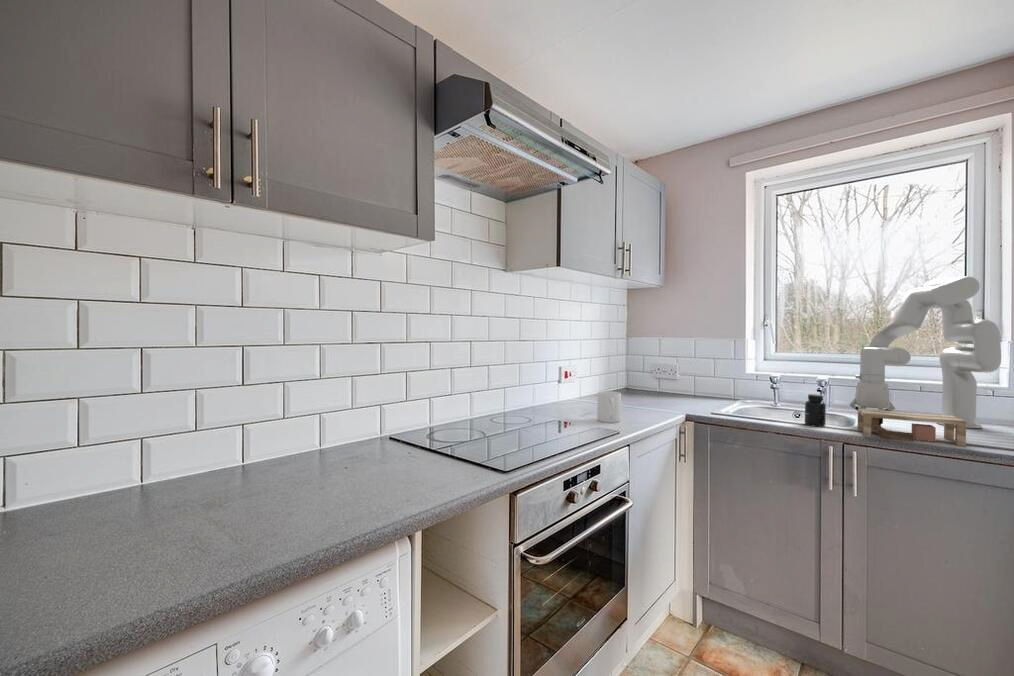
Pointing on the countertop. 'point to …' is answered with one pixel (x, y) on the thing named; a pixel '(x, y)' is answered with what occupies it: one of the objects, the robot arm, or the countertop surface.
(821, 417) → the supplement bottle
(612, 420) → the mug
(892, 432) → the crook
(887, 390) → the robot arm
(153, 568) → the countertop surface
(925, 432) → the cube
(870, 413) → the low bench
